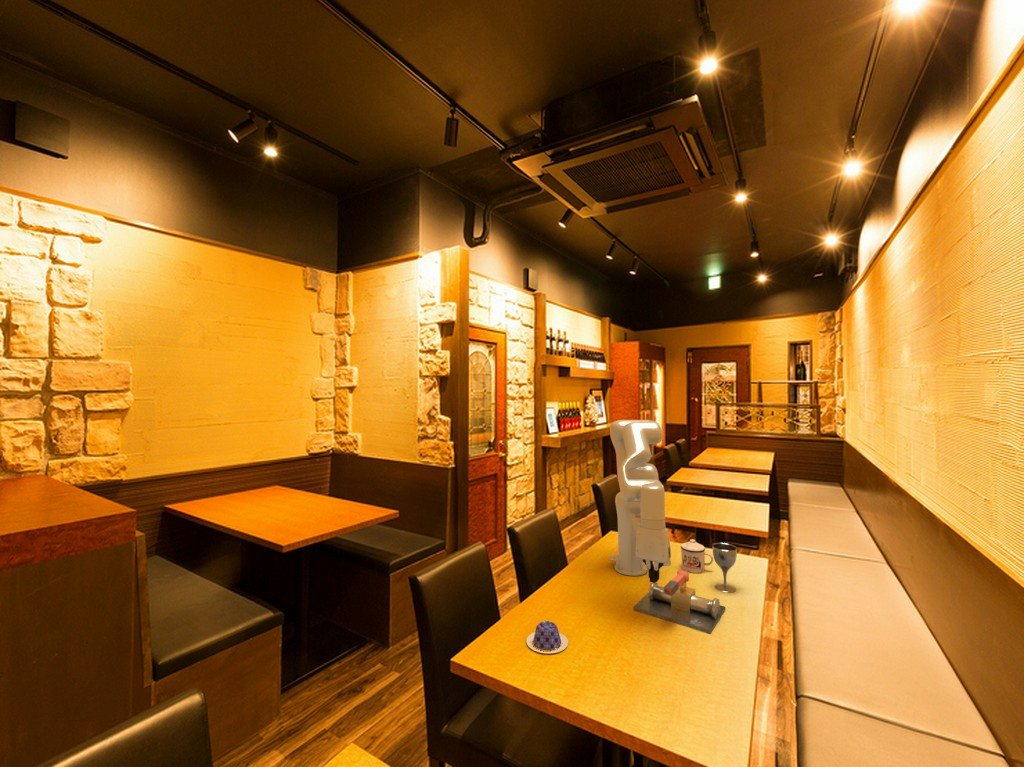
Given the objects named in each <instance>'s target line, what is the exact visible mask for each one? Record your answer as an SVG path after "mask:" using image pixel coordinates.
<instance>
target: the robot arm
mask: <svg viewBox="0 0 1024 767" xmlns="http://www.w3.org/2000/svg"><path fill="white" fill-rule="evenodd" d="M609 435H610V439H611V440H610V441H611V442H612V445H613V448H614V450H615V456H616V470H617V471H616V472H617V480H618V485H619V490H620V491H619V492H617V493H616V495H615V499H614V502H615V509H616V514H617V515H616V516H617V539H618V540H617V545H618V546H617V549H618V550H617V552H618V553H617V554H618V555H616V554H613V553H610V554H609V561H610V562H614V563H615V564H614V570H615V571H616V572H617V573H619V574H621V575H624V576H629V577H630V576H632V577H639V576H644V575H645V574H648V578H649V582H650V583H652V582H653V583H657V582H658V581H659V580H660V569H661V568H663V567H670V566H672V562H671V559H672V558H671V557H672V552H671V550H672V549H671V541H670V540H671V539H670V535H669V534H670V533H669V531H668V530H669V529H668V528H667V527H666V502H665V500H666V498H665V497H666V496H665V487H664V485H663V484H662V482H661V481H660V480H659V472H658V469H657V467H656V466H655V465H654V464H652V463H649V461H651V459H652V453H651V449H650V445H659V444H660V443H661V442H662V440H663V430H662V427H661V425H660V423H658V422H657V421H655V420H652V419H620V420H614V421H612V422H611V423H610V426H609ZM636 516H637V517H636Z"/></svg>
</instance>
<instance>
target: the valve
mask: <svg viewBox="0 0 1024 767" xmlns="http://www.w3.org/2000/svg"><path fill="white" fill-rule="evenodd" d="M664 587H665V586H662V585H661V586H659V585H658V583H657V582H656V583H653V582H650V585H649V589H648V592H647V593H646V594H645V595H644V596H643V597H642V598H641V599H640V600H639V601H637V603H635V604H634V606H633V607H632V608H633V611H635V612H639V613H642V614H646V615H649V616H652V617H655V618H659V619H661V620H665V621H668V622H671V623H675V624H677V625H680V626H684V627H688V628H690V629H694V630H696V631H700V632H703V633H706V634H712V632H713V630H714V629H715V627H716V626H717V624H718V622H719V621H720V619H721V618H722V617H723V615H724V613H725V612H726V606H724V605H721V604H720V599H719V598H716V597H714V598H712V599H709V598H706V597H702V596H698V595H696V588H694V587H693V588H692V587H689V586H687V582H684V583H683V584H682V585H681V586H680V587H679V589H678V590H677V591H676V592H675V593H674V594H673V596H671V595H667V594H664Z"/></svg>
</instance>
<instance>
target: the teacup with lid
mask: <svg viewBox="0 0 1024 767" xmlns="http://www.w3.org/2000/svg"><path fill="white" fill-rule="evenodd" d="M680 549H681V551H680V552H681V555H680V556H681V570H684V571H687V572H688V573H692V574H699V573H700V574H701V573H704V572H705V570H706V566H707V567H708V566H711V565H712V564H713V561H714V556H713V554H711V553H709V552H705V551H706V548H705V546H704V545H703V544H701V543H699V542H697V541H696V539H693V538H692V539H691V538H690V540H689V541H687V542H683V543H681V545H680ZM705 556H709V558H710V561H709V562H705Z"/></svg>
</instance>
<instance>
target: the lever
mask: <svg viewBox="0 0 1024 767" xmlns="http://www.w3.org/2000/svg"><path fill="white" fill-rule="evenodd" d="M689 581H690V572H688V571H685V570H684V569H680V570H679V569H678V570H677V571H676V575H675V576H674V578H672V579H670V580H669V581H668V582H667V583H666V584H665V585H664V586H663V587H664V594H667V595H671V596H673V594H674V593H675V592H676V591H677V590H678V589H679V587H680V586H681V585H682V584H683V583H684V582H686V583H688V582H689Z"/></svg>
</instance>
